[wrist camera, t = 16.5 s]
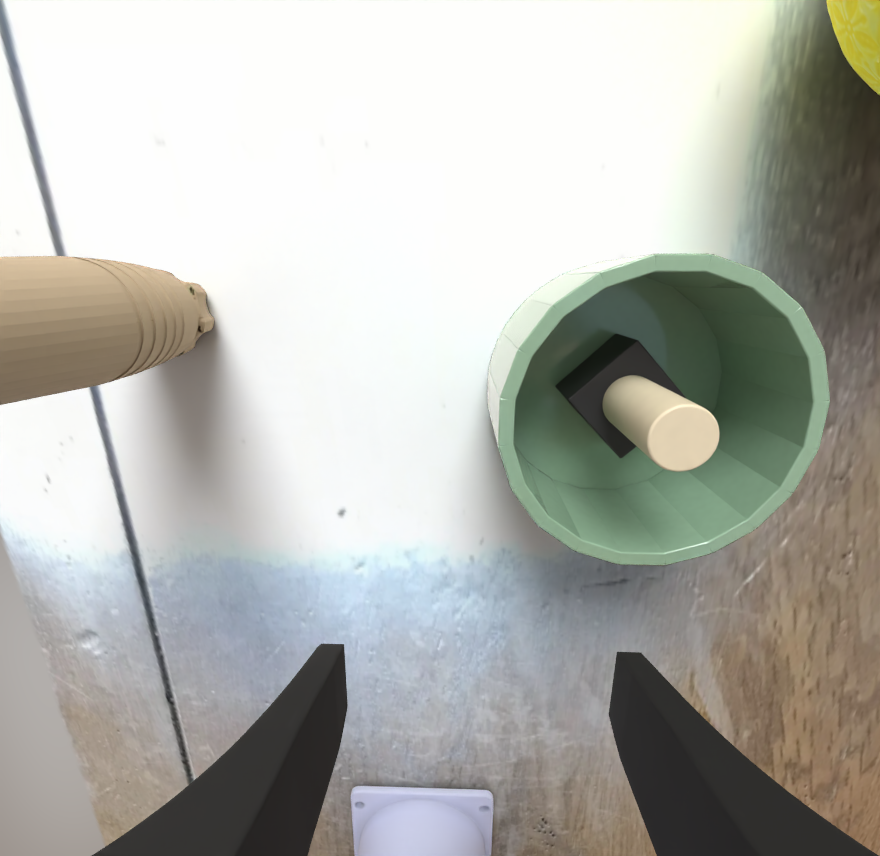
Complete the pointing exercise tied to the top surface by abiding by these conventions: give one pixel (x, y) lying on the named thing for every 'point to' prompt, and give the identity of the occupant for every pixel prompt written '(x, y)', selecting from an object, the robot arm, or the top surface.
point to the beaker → (694, 373)
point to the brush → (640, 406)
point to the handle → (90, 322)
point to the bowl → (859, 36)
